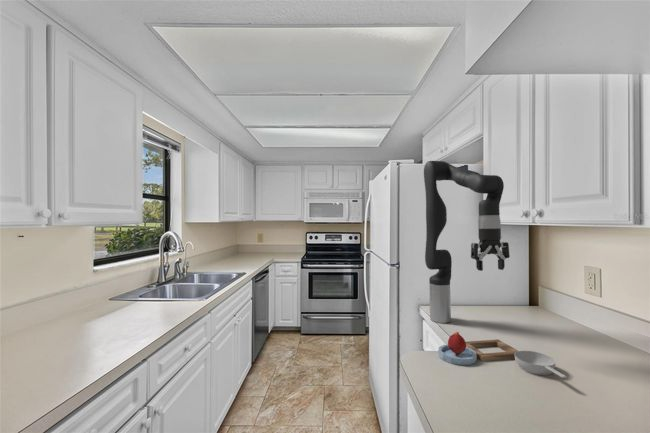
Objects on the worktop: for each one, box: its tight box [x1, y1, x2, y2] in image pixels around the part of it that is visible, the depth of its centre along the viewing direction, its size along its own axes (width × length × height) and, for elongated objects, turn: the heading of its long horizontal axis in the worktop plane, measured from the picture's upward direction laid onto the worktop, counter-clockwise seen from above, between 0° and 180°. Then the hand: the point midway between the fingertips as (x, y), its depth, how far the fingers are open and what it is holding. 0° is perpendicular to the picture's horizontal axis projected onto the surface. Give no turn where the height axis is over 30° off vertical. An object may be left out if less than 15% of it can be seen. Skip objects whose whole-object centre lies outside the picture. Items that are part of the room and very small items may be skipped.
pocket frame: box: [465, 339, 519, 362], centre depth 110 cm, size 12×15×2 cm
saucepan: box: [514, 350, 568, 379], centre depth 94 cm, size 11×18×4 cm, turn 0°
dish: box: [438, 344, 478, 366], centre depth 107 cm, size 12×12×2 cm
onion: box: [447, 331, 467, 355], centre depth 107 cm, size 6×6×8 cm
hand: (490, 270), depth 117 cm, fingers open, 8 cm apart
